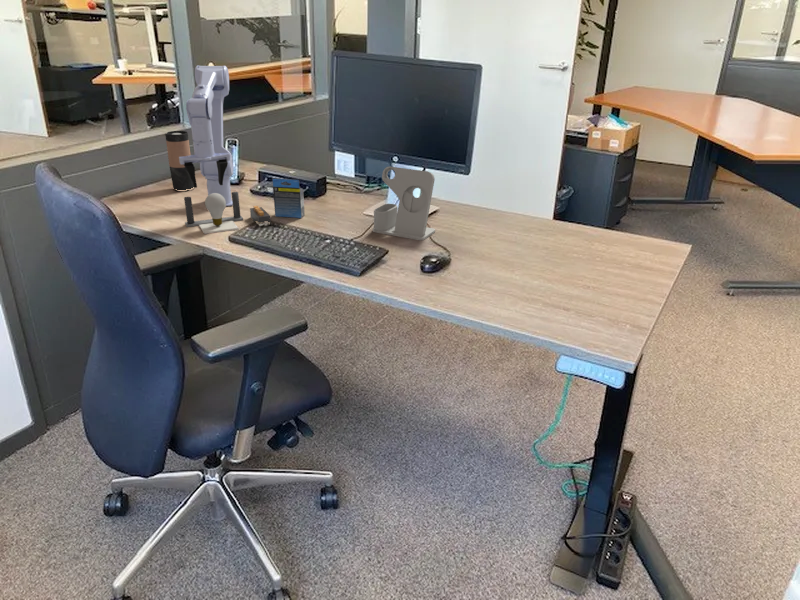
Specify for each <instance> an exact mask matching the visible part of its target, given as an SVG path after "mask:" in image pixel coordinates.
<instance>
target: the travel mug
mask: <svg viewBox="0 0 800 600" xmlns="http://www.w3.org/2000/svg"><path fill="white" fill-rule="evenodd" d="M164 135H165V144H166V150H167V151H166V152H167V157H168V166H169V172H170V178H171V182H172V188H174V189H177V190H186V189H191V188H193V187H194V186H193V182H192V180H191V177H190V175H189V173H188V171H187V169H186V168H185V166H184V164H182V165H181V164H180V161H179V157H183V156H189V155H192V154H191V149H190V148H191V147H190V140H189V132H188V131H186V130H185V131H184V130H170V131H167V132H166V133H165V134H164ZM174 189H173V190H174Z"/></svg>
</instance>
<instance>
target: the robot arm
mask: <svg viewBox="0 0 800 600" xmlns="http://www.w3.org/2000/svg"><path fill="white" fill-rule="evenodd" d="M229 73H230V72H229V69H228V67H227V66H226V65H196V66H195V67H194V80H195V83H196V86H195V88H194V89H193V91H192V96H191V98H189V99H187V100H186V102H185V103H186V104H185V105H186V106H185V109H186V114H187V119H188V123H189V126H190V129H191V139H192V144H193V151H194V153H193V154H191V155H189V156H183V157H179V161H180V164H181V165H182V164H184V166H185V168H186V169H187V171H188V173H189V175H190V177H191V180H192V182H193V186H194V189H197V188H198V183H197V179H196V167H195V166H194V164H196V163H197V164H199V170H200V174H201V175H202V176H203V177H204V178H205V180H206V189H207V191H206V192H207V196H208V195H210V194H212V193H218V194H220V195H222V196H223V197H224V199H225V201H226V207H230V206H233V203H232V191H231V181H230V177H232V176H233V175H234V162H233V155H232V153H231V152H230V150H228V149H226V148H225V147H224V100H225V97H227V96H228V95H229V92H230V74H229Z"/></svg>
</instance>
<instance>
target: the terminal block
mask: <svg viewBox="0 0 800 600" xmlns="http://www.w3.org/2000/svg"><path fill="white" fill-rule="evenodd" d="M252 206H253V208H252V207H250V208H249V212H250V218H251V220H252V221H253V222H254V221H258V222H264V221H268V222H271V219H272V218H271V215H270V214H269V213H268V212H267V211H266V210H265V208H263V207H262V206H258V205H252ZM271 223H272V222H271Z"/></svg>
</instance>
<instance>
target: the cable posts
mask: <svg viewBox="0 0 800 600" xmlns="http://www.w3.org/2000/svg"><path fill="white" fill-rule="evenodd" d="M239 197H240V196H239V192H238V191H231V199H232V203H233V205H232V209H233V210H232V211H233V215H232V216H228V217H227V216H226V217H222V222H225V221H233V222H238V221H244V217H243V216H242V215H241V208H240V206H241V205H240V198H239ZM183 199H184V200H183V201H184V207H185V215H186V221H185V222H184V225H185V227H186V228H192V227H198V226H199V225H201V224H209V223H213V220H212V218H210V219H201V220H195V217H194V209H193V202H192V197H191V196H184V197H183Z"/></svg>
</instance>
